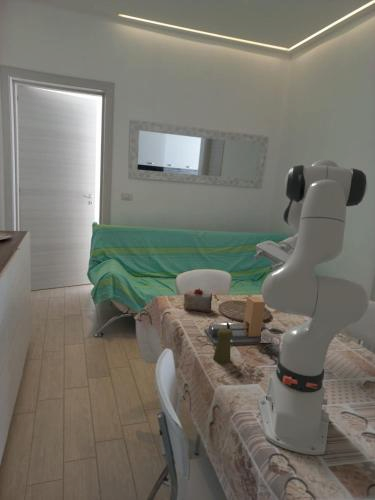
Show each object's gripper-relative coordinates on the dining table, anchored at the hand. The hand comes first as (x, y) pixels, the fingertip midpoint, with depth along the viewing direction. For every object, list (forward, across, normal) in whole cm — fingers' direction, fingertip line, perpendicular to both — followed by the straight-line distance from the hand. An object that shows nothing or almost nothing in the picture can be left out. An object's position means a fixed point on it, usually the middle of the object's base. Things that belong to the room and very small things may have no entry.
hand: (262, 262), depth 133 cm
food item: (+18, -27, +32) cm, 45 cm away
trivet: (-1, -15, +38) cm, 41 cm away
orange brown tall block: (+12, +5, +26) cm, 29 cm away
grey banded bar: (+17, +4, +25) cm, 30 cm away
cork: (+32, +15, +18) cm, 40 cm away
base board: (+18, +4, +26) cm, 32 cm away
